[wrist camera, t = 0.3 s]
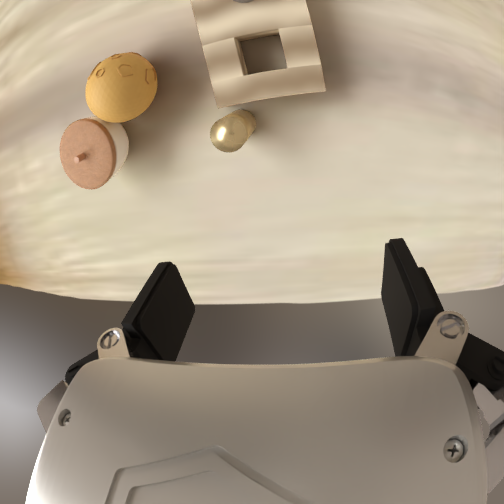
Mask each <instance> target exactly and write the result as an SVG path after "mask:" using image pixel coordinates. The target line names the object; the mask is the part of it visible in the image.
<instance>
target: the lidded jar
mask: <svg viewBox="0 0 504 504" xmlns="http://www.w3.org/2000/svg"><path fill="white" fill-rule="evenodd" d="M128 150H129V141H128V136H127V133H126V131H125V129H124V128H123V126H122V125H121V124H120V123H112V122H107V121H104V120H102V119H100V118H98V117H97V116H93V117H88V118H85V119H80V120H77V121H75V122H73V123H72V124H70V125H69V126H68V127H67V129H66V130H65V132H64V133H63V136H62V138H61V142H60V158H61V163H62V166H63V168H64V170H65V172H66V174H67V175H68V177H69V178H70V179H71V180H72V181H73V182H74V183H75V184H77V185H78V186H80V187H82V188H85V189H96V188H99V187H101V186H103V185H104V184H105V183H106V182H107V181H108V180H109V179H111V178H112V177H113V176H114V175H115V174H116V173H117V172H118V171H119V170H120V169H121V167H122V166H123V164H124V163H125V160H126V158H127V155H128Z"/></svg>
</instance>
